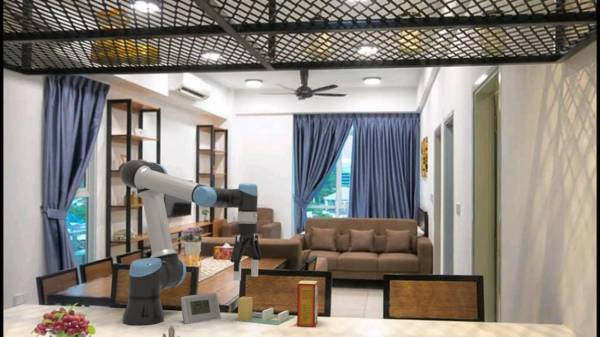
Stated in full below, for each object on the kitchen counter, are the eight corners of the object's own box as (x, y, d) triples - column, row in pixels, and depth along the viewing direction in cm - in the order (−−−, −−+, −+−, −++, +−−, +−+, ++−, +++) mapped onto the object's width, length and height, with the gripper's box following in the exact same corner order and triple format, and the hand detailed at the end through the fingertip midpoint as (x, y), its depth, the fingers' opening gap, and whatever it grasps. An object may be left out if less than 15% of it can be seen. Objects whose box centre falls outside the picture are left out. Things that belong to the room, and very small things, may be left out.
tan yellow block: (237, 319, 184) (238, 297, 185) (243, 317, 188) (243, 295, 189) (247, 320, 183) (247, 298, 184) (252, 318, 186) (252, 296, 187)
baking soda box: (300, 321, 188) (301, 279, 189) (317, 322, 187) (317, 279, 189) (297, 326, 178) (297, 282, 180) (314, 327, 178) (314, 283, 179)
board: (229, 323, 183) (230, 310, 183) (251, 315, 198) (251, 303, 199) (277, 328, 175) (277, 315, 175) (296, 319, 190) (296, 307, 191)
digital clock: (183, 328, 175) (184, 298, 176) (175, 323, 182) (176, 294, 183) (225, 323, 183) (225, 294, 184) (215, 319, 191) (216, 291, 192)
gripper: (239, 223, 176) (238, 282, 174) (270, 223, 199) (269, 275, 197) (222, 223, 179) (220, 281, 177) (254, 222, 202) (253, 274, 200)
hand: (246, 278), depth 187 cm, fingers open, 13 cm apart
